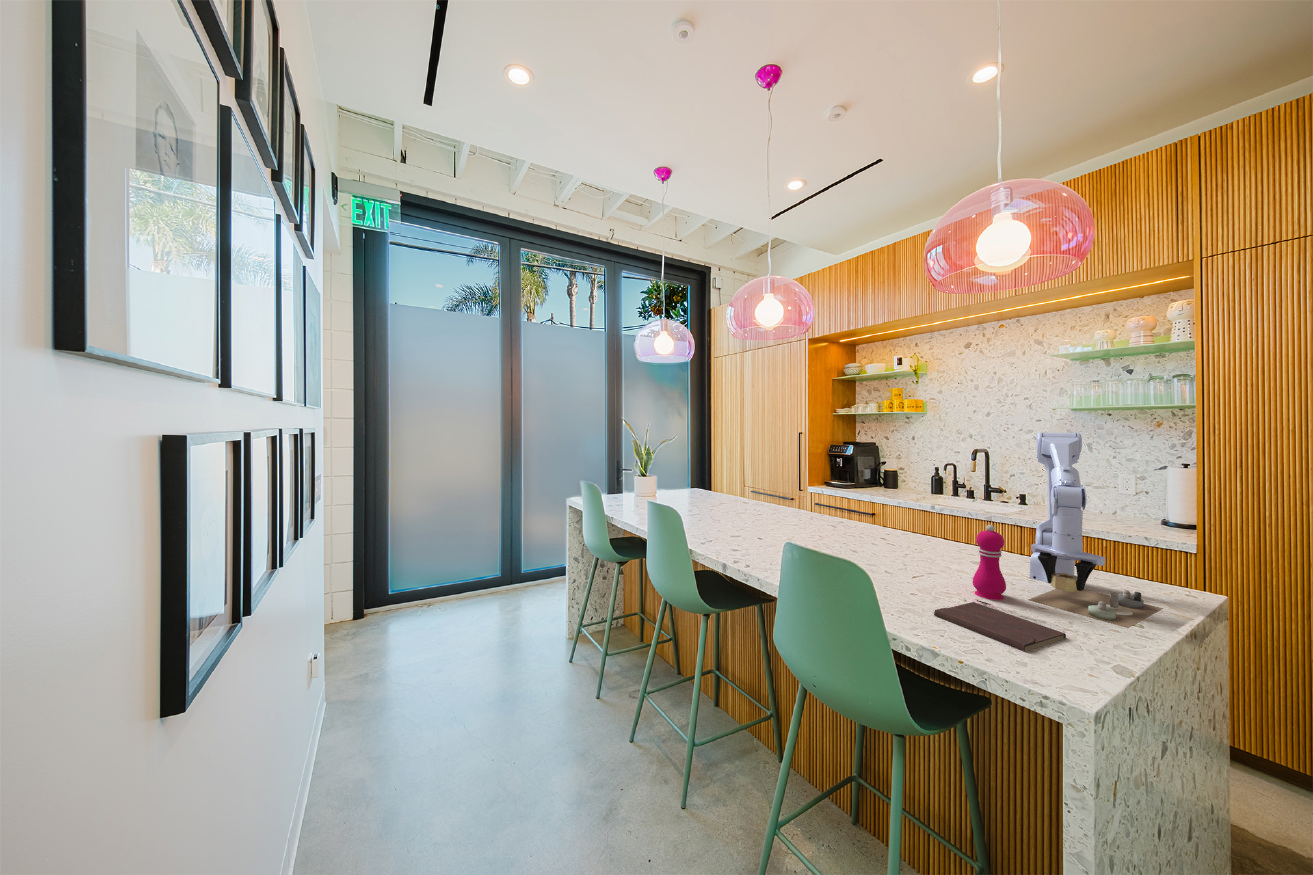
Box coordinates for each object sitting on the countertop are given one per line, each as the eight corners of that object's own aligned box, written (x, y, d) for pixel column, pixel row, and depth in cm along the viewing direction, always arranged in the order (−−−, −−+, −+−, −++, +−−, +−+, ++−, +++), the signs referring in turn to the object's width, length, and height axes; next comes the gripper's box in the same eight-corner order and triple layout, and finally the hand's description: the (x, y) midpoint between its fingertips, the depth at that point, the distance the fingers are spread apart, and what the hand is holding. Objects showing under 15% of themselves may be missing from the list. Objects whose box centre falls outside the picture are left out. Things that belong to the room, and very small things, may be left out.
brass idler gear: (1047, 586, 124) (1048, 575, 123) (1057, 582, 126) (1057, 571, 126) (1073, 593, 119) (1074, 581, 119) (1083, 589, 121) (1083, 577, 121)
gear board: (1027, 605, 122) (1027, 583, 122) (1066, 590, 133) (1066, 569, 133) (1127, 634, 106) (1128, 608, 105) (1163, 614, 116) (1163, 591, 116)
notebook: (974, 607, 122) (974, 599, 122) (1065, 640, 104) (1066, 631, 104) (933, 617, 116) (934, 609, 116) (1023, 654, 98) (1024, 644, 98)
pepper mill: (1011, 607, 121) (1013, 528, 120) (979, 605, 123) (981, 527, 122) (997, 596, 128) (999, 522, 127) (967, 594, 130) (968, 521, 129)
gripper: (1026, 529, 126) (1024, 580, 127) (1097, 541, 114) (1095, 598, 114) (1039, 526, 130) (1037, 576, 130) (1109, 538, 117) (1107, 592, 118)
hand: (1065, 586), depth 122 cm, fingers closed on brass idler gear, 5 cm apart
